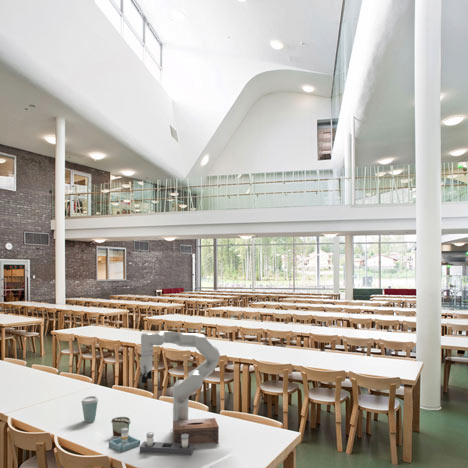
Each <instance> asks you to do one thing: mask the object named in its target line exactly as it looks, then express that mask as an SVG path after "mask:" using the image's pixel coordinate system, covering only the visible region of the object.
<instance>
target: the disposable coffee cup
mask: <svg viewBox="0 0 468 468" xmlns="http://www.w3.org/2000/svg"><path fill="white" fill-rule="evenodd" d="M98 401H99V398H98V397H97V396H96V395H91V396H90V395H89V396H86V397H84V398H82V400H81V406H82V413H83V420H84V422H85V423H87V422H88V423H93V422H95V420H96V416H97V408H98Z"/></svg>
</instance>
